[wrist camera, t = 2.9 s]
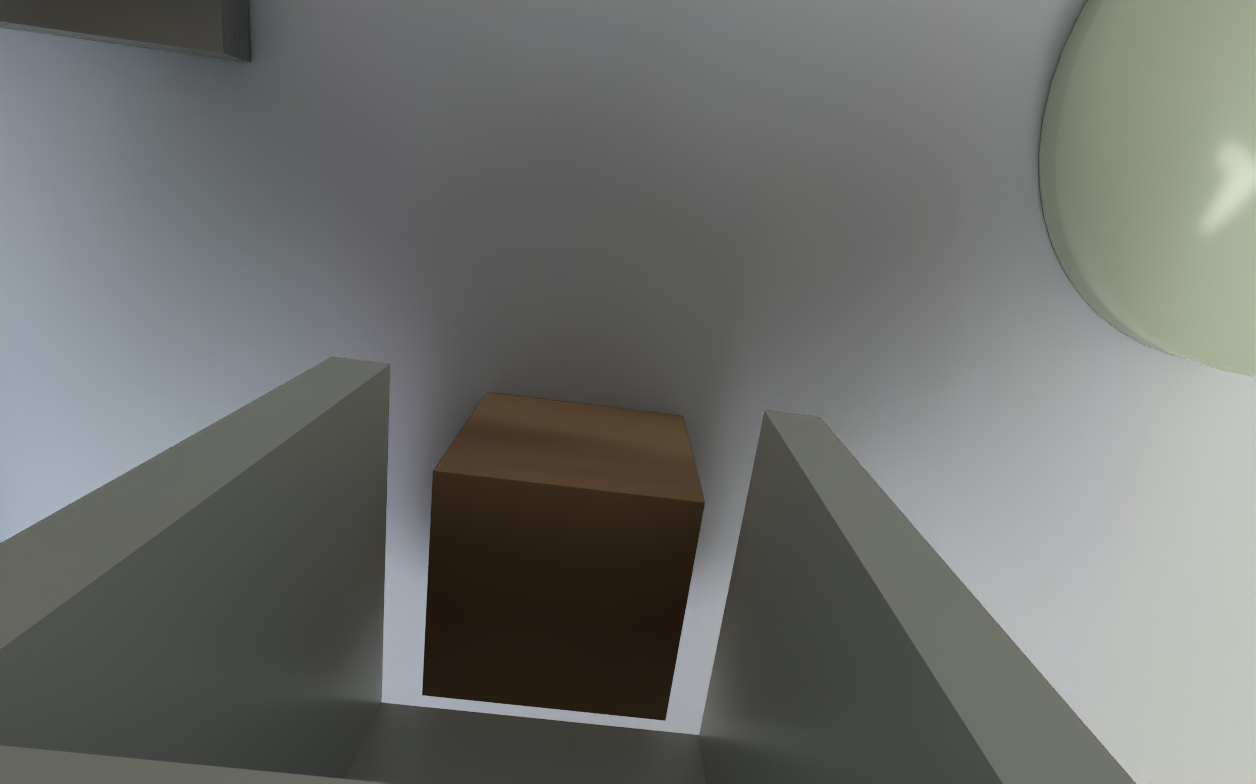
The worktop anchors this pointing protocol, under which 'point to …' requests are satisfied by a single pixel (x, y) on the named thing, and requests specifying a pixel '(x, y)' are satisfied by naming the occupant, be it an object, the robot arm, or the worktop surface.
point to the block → (561, 557)
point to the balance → (140, 23)
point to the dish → (1159, 173)
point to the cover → (469, 741)
